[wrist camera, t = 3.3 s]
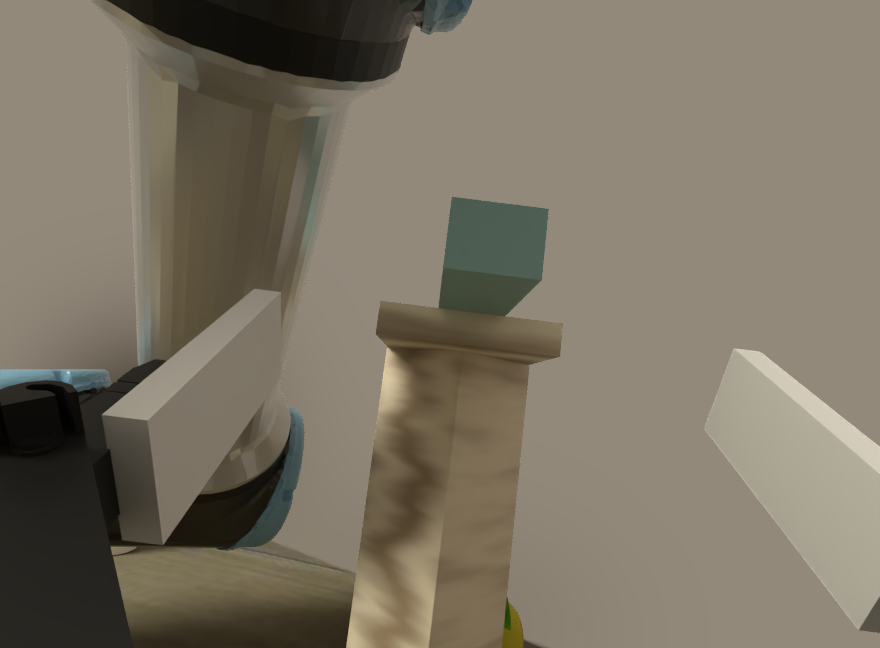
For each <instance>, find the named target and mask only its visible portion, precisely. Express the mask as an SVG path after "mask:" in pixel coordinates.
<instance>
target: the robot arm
mask: <svg viewBox="0 0 880 648" xmlns="http://www.w3.org/2000/svg"><path fill="white" fill-rule="evenodd" d="M91 1H92V2H93V3H94V4H95V5H96V6H97V7H98V9H100V11H101V12H102V13H103V14H104V15H105V16H106V17H107V18H108V19H109V20H110V21H111V22H112V23H113V24H114V25H115V26H116V27H117V28H118V29H119V30H120V31H121V32H122V34H123V36H124V38H125V39H126V64H127V89H128V116H129V141H130V168H131V193H132V219H133V245H134V268H135V269H134V271H135V295H136V296H135V297H136V322H137V348H138V366H137V367H135V368H133V369H131V370H130V371H129V372H127V373H126V374H125V375H123V376H122V377H121V378H120V379H119V380H118V381H117V383H113V384H112V385H111V383H112V381H111V380H110V378H109V373H108V371H106V370H0V648H133V645H132V640H131V636H130V631H129V627H128V622H127V618H126V613H125V609H124V604H123V600H122V596H121V591H120V587H119V582H118V578H117V573H116V569H115V564H114V560H113V555H112V551H111V547H186V548H217V549H219V550H227V551H229V550H233V549H236V548H238V547H256V546H261V545H264V544H266V543H267V542H269V541H270V540H272V539H273V538H274V536H276V534H277V533H278V532H279V530H280V529H281V527H282V525H283V523H284V522H285V519H286V517H287V515H288V513H289V510H290V507H291V504H292V498H293V491H294V490H295V489H296V486H297V483H298V478H299V474H300V469H301V464H302V457H303V449H304V424H303V419H302V417H301V415H300V414H299V412H298V411H296V410H295V409H294V408H291V407H289V406H288V402H287V400H286V398H285V395H284V394H283V392H282V391H281V389H280V388H279V387H280V383H281V379H282V375H283V371H284V368H285V364H286V360H287V355H288V352H289V348H290V344H291V340H292V336H293V331H294V328H295V324H296V320H297V316H298V311H299V308H300V304H301V300H302V296H303V292H304V288H305V284H306V281H307V277H308V273H309V269H310V265H311V261H312V257H313V253H314V249H315V245H316V241H317V237H318V233H319V229H320V225H321V221H322V217H323V213H324V209H325V205H326V201H327V197H328V194H329V189H330V186H331V182H332V177H333V174H334V170H335V166H336V162H337V158H338V154H339V150H340V146H341V142H342V138H343V134H344V130H345V126H346V122H347V118H348V114H349V110H350V106H351V103H352V101H353V100H355V99H357V98H359V97H361V96H363V95H365V94H367V93H370V92H372V91H374V90H376V89H378V88H379V87H382V86H384V85H386V84H388V83H390V82H391V81H392V80H394V79H395V77H396V76H397V74H398V71H399V68H400V65H401V61H402V58H403V54H404V51H405V48H406V44H407V41H408V38H409V34H410V32H411V30H412V28H413V27H414V26H415V25H416V26H418V27H420V28H421V31H422V32H424V33H426V34H428V35H430V34H432V33H433V32H448V31H450V30H453V29H454V28H455V27H456V26H457V25H459V24H460V23H461V21H462V19H463V18H464V17H465V16H466V14H467V12H468V10H469V8H470V6H471V3H472V0H91ZM704 430H705V431H706V432H707V434H708V435H709V436H710V438H711V439H712V440H713V441H714V443H715V444H716V445H717V447H718V448H719V449H720V451H721V452H722V453H723V454H724V456H725V457H726V458H727V460H728V461H729V462H730V464H731V465H732V466H733V467H734V469H735V470H736V471H737V473H738V474H739V475H740V477H741V478H742V479H743V480H744V482H745V483H746V484H747V486H748V487H749V488H750V490H751V491H752V492H753V494H754V495H755V496H756V497H757V499H758V500H759V501H760V503H761V504H762V505H763V507H764V508H765V509H766V510H767V512H768V513H769V514H770V516H771V517H772V518H773V520H774V521H775V522H776V523H777V525H778V526H779V527H780V529H781V530H782V531H783V533H784V534H785V535H786V537H787V538H788V539H789V540H790V542H791V543H792V544H793V545H794V547H795V548H796V550H797V551H798V552H799V553H800V555H801V556H802V557H803V559H804V560H805V561H806V562H807V564H808V565H809V567H810V568H811V569H812V570H813V572H814V573H815V574H816V576H817V577H818V578H819V579H820V581H821V582H822V583H823V585H824V586H825V587H826V589H827V590H828V591H829V593H830V594H831V595H832V596H833V598H834V599H835V600H836V602H837V603H838V604H839V605H840V607H841V608H842V609H843V611H844V612H845V613H846V615H847V616H848V617H849V619H850V620H851V621H852V623H853V624H854V625H855V626H856V628H857V629H858V630H860V631H869V632H877V633H880V447H879V446H878V445H877V444H876V443H874V442H873V441H872V440H871V439H869V438H868V437H867V436H865V435H864V434H863V433H862V432H860V431H859V430H858V429H857V428H855V427H854V426H853V425H852V424H850V423H849V422H848V421H847V420H845V419H844V418H843V417H842V416H840V415H839V414H838V413H836V412H835V411H834V410H833V409H832V408H830V407H829V406H828V405H826V404H825V403H824V402H823V401H821V400H820V399H819V398H818V397H816V396H815V395H814V394H813V393H811V392H810V391H809V390H807V389H806V388H805V387H804V386H803V385H801V384H800V383H799V382H797V381H796V380H795V379H794V378H792V377H791V376H790V375H789V374H788V373H786V372H785V371H784V370H782V369H781V368H780V367H779V366H777V365H776V364H775V363H774V362H772V361H771V360H770V359H769V358H767V357H766V356H765V355H764V354H762V353H761V352H758V351H750V350H742V349H733V352H732V355H731V358H730V360H729V363H728V365H727V368H726V371H725V373H724V376H723V379H722V381H721V384H720V387H719V389H718V392H717V395H716V397H715V400H714V403H713V405H712V408H711V411H710V413H709V416H708V419H707V422H706V424H705V427H704Z"/></svg>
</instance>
